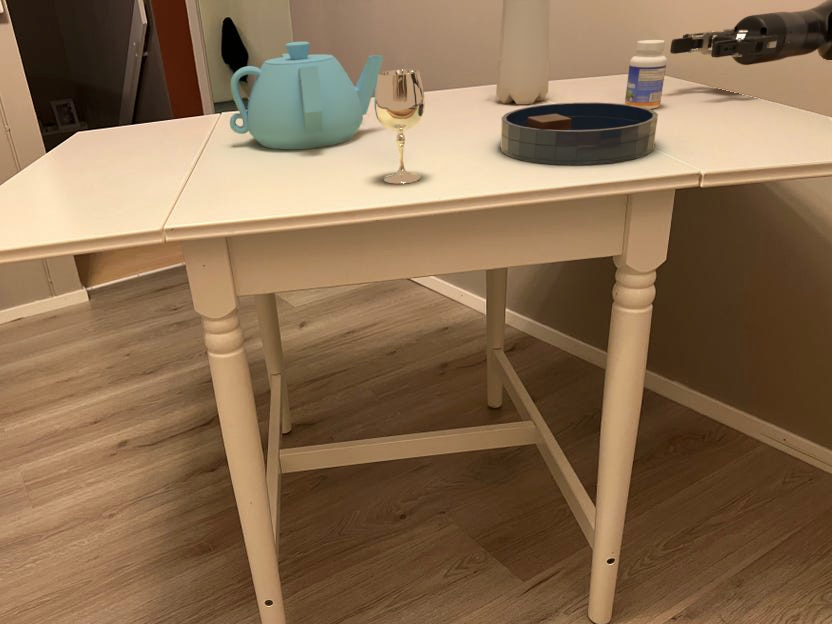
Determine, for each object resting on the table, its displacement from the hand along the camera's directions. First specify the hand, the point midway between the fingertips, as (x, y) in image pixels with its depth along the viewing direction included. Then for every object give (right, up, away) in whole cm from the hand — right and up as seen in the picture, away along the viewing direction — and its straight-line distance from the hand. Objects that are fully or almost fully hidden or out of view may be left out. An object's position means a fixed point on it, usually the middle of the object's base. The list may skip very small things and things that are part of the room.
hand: (692, 48), depth 113 cm
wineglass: (-48, -28, -27) cm, 62 cm away
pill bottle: (-8, -9, +1) cm, 12 cm away
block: (-29, -23, -22) cm, 43 cm away
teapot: (-61, -15, -3) cm, 63 cm away
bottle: (-24, -4, +13) cm, 28 cm away
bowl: (-25, -22, -19) cm, 38 cm away
